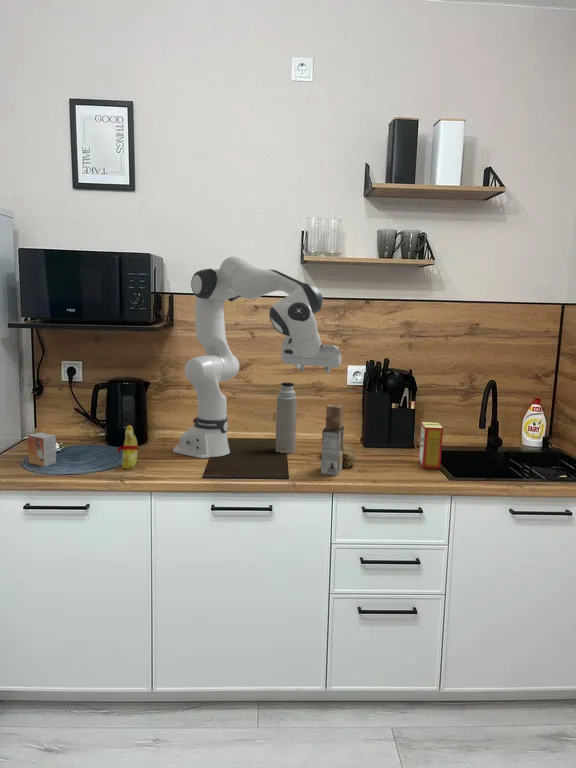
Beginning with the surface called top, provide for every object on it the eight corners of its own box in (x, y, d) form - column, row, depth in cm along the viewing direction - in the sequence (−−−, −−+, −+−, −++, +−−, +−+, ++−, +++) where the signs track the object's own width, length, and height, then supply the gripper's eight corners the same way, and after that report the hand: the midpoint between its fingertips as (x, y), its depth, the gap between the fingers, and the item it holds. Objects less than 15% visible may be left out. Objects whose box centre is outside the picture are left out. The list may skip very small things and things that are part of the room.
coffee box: (325, 466, 215) (327, 424, 213) (342, 468, 214) (344, 426, 211) (320, 473, 207) (322, 430, 204) (338, 475, 205) (340, 431, 203)
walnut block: (325, 428, 207) (326, 406, 205) (328, 425, 211) (329, 404, 210) (339, 429, 205) (340, 407, 204) (342, 426, 210) (343, 405, 209)
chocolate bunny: (140, 461, 215) (139, 421, 212) (134, 470, 204) (134, 428, 202) (121, 461, 214) (120, 421, 212) (114, 470, 203) (114, 428, 201)
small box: (28, 463, 208) (27, 435, 206) (40, 459, 213) (39, 431, 211) (44, 467, 204) (43, 438, 203) (56, 463, 209) (55, 434, 208)
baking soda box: (440, 468, 217) (443, 427, 215) (422, 467, 218) (425, 426, 215) (435, 461, 226) (438, 421, 224) (418, 460, 227) (421, 420, 224)
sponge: (356, 471, 215) (355, 447, 233) (354, 453, 212) (353, 429, 231) (322, 475, 217) (323, 451, 235) (318, 457, 214) (320, 433, 232)
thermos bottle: (272, 451, 233) (273, 383, 228) (280, 447, 240) (282, 380, 235) (289, 454, 229) (292, 385, 225) (298, 450, 236) (300, 382, 232)
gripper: (340, 338, 187) (346, 365, 198) (281, 335, 193) (289, 361, 204) (336, 353, 184) (342, 379, 194) (276, 349, 190) (284, 375, 201)
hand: (314, 370), depth 199 cm, fingers open, 8 cm apart
